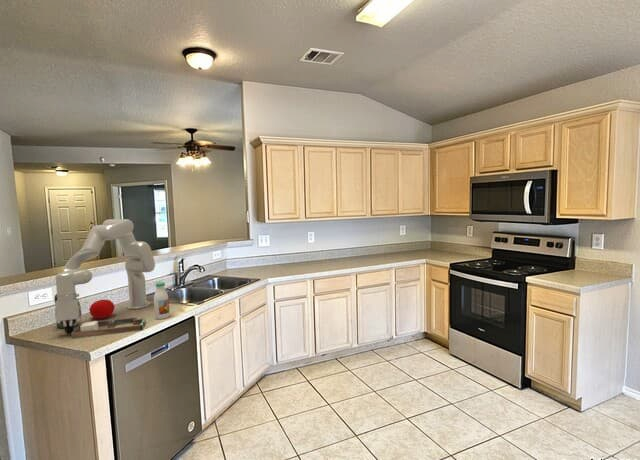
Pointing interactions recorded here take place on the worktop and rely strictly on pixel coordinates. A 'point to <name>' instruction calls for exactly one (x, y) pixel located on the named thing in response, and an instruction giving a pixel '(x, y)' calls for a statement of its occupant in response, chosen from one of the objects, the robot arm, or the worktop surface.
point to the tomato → (101, 309)
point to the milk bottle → (161, 302)
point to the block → (89, 326)
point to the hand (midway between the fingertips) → (69, 333)
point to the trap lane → (112, 330)
